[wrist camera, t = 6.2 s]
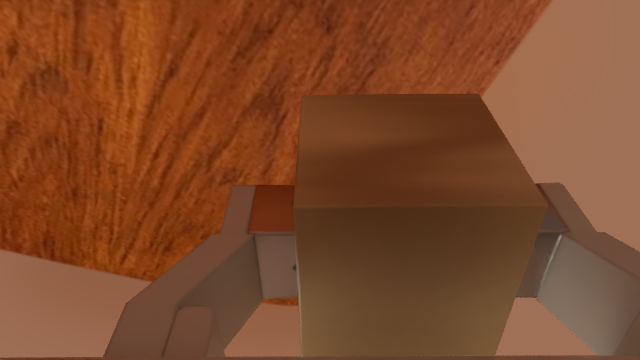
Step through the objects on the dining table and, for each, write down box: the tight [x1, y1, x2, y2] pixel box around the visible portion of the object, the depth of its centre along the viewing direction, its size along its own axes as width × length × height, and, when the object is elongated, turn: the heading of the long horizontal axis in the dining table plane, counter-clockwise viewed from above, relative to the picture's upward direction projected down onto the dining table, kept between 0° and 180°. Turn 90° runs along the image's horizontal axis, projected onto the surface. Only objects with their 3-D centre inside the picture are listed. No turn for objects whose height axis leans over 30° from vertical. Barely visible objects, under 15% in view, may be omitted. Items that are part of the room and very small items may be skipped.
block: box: [293, 94, 548, 356], centre depth 10 cm, size 4×4×4 cm
